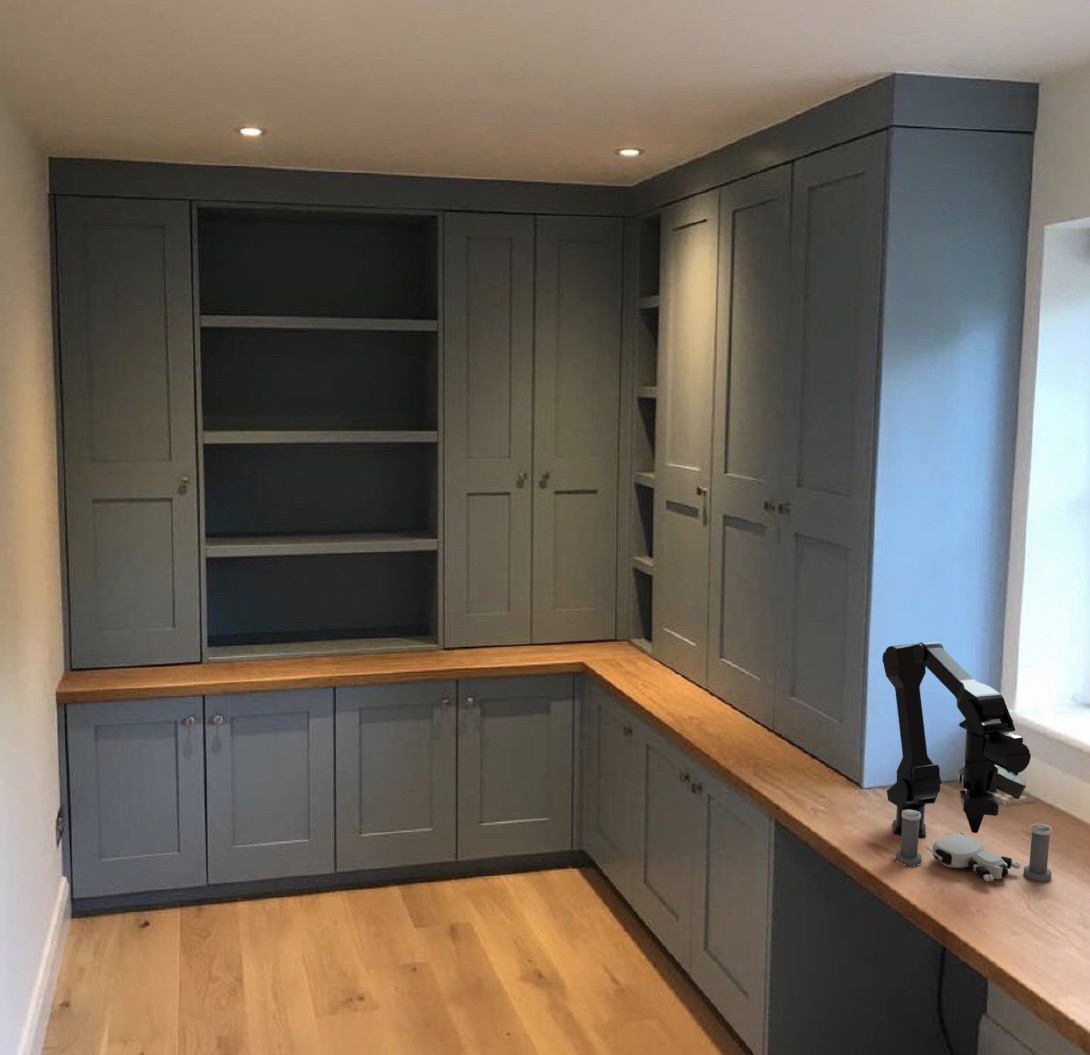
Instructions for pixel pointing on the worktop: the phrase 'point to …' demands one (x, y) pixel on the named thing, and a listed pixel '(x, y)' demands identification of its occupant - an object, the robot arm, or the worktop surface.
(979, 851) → the robot toy
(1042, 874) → the tube
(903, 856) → the tube
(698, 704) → the worktop surface
